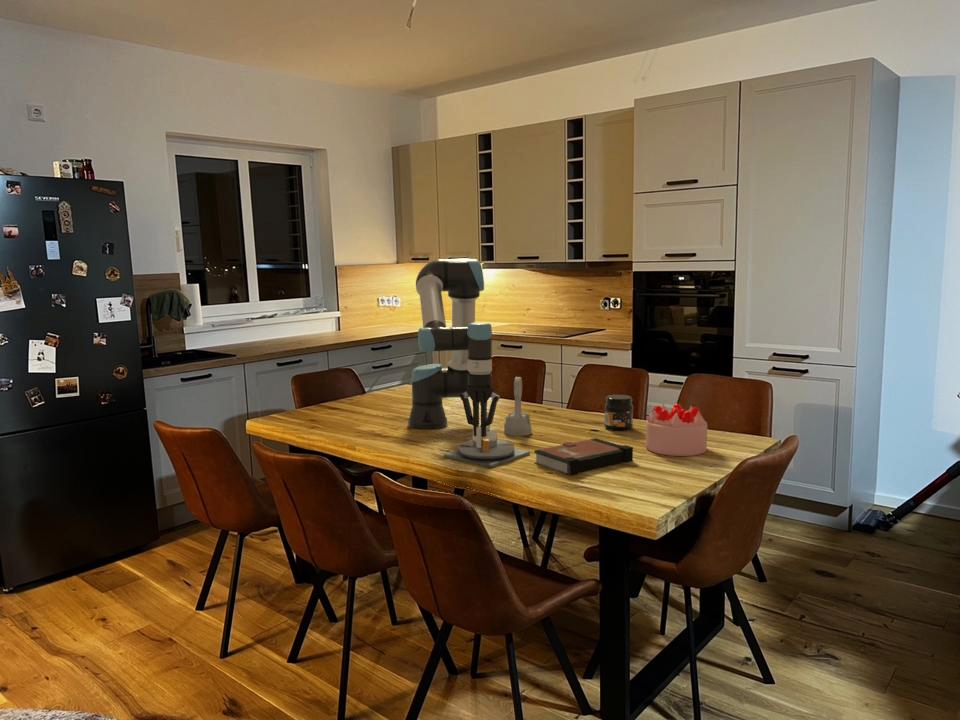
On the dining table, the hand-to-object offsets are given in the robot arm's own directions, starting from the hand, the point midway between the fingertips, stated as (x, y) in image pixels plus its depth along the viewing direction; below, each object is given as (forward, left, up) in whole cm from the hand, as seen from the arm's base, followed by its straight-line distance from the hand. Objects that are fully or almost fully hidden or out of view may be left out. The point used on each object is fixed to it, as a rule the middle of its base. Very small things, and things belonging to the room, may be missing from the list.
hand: (480, 446), depth 229 cm
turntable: (-3, +7, -4) cm, 9 cm away
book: (+25, +21, -6) cm, 33 cm away
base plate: (-3, +7, -5) cm, 9 cm away
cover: (-4, +7, -2) cm, 8 cm away
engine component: (-15, +39, -5) cm, 42 cm away
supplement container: (+11, +67, -5) cm, 68 cm away
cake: (+41, +53, -5) cm, 67 cm away
